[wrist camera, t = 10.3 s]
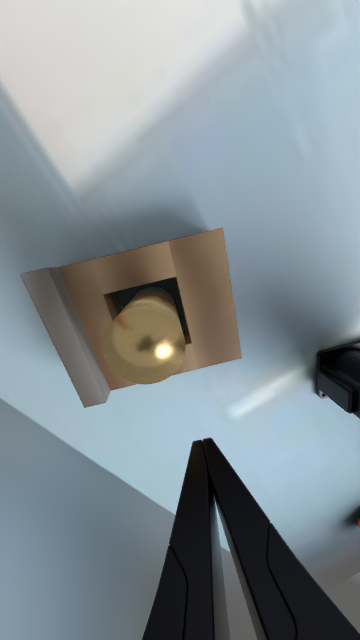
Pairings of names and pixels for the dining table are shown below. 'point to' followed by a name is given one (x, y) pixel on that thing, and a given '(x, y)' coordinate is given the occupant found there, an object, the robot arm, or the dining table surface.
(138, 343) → the brass cylinder rod
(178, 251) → the jig
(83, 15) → the dining table surface
